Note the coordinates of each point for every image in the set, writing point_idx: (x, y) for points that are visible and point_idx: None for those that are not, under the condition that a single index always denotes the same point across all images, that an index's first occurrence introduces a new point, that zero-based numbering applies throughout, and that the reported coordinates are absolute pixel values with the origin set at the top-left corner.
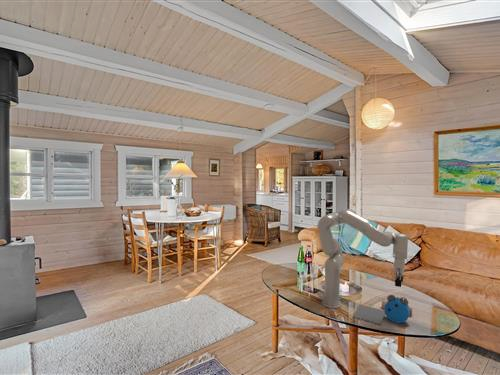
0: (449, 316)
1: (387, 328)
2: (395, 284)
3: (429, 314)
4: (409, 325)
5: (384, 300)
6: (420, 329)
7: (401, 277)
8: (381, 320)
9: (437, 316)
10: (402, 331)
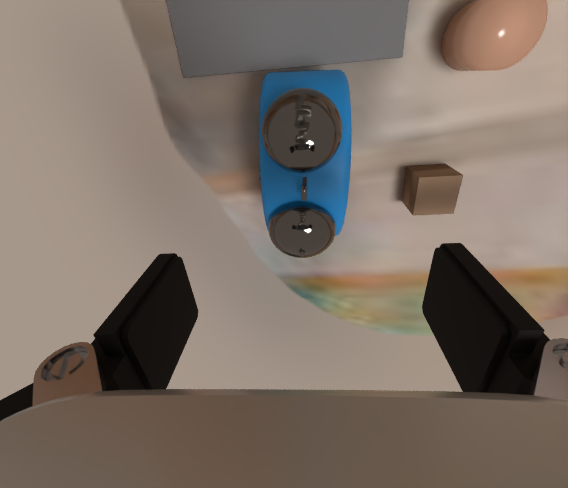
0: None
1: (184, 119)
2: (153, 270)
3: None
4: None
5: (508, 13)
6: None
7: (454, 351)
8: (233, 67)
9: None
10: (211, 187)
